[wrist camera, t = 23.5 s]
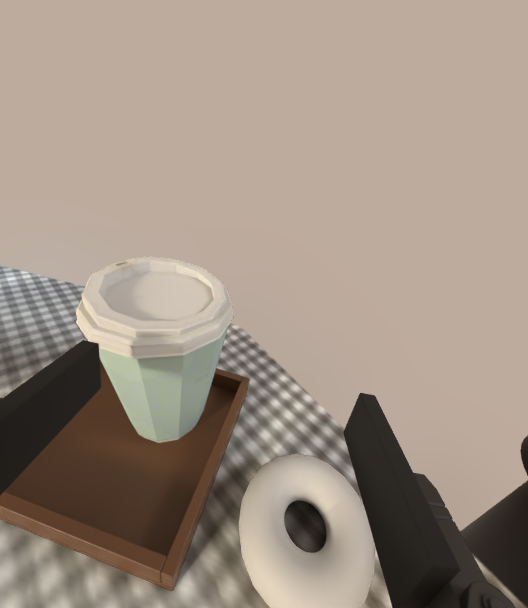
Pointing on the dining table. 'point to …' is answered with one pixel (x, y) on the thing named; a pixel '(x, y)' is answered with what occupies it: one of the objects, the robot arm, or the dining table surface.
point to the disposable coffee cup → (157, 338)
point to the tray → (126, 483)
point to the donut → (292, 560)
